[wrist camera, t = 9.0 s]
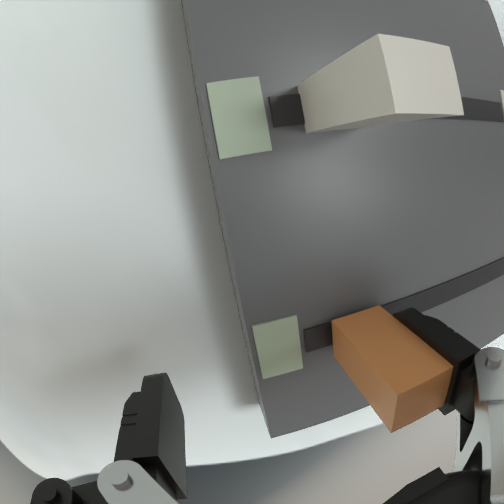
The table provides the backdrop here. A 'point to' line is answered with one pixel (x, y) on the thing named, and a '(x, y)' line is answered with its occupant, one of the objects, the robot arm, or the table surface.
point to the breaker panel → (351, 176)
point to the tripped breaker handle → (390, 366)
